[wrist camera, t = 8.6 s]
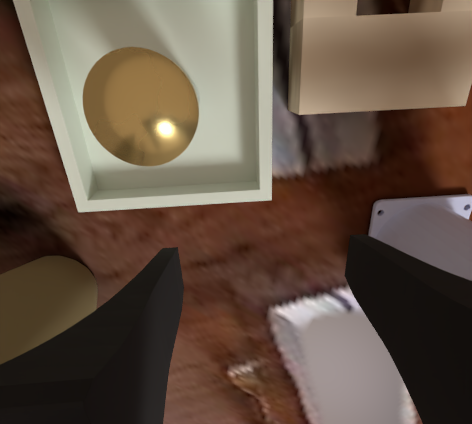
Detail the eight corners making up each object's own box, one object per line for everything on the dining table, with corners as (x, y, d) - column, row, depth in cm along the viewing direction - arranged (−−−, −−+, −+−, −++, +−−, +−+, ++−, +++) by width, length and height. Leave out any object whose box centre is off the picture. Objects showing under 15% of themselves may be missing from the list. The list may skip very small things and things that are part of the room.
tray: (266, 187, 22) (271, 200, 19) (93, 198, 21) (78, 212, 19) (265, -28, 16) (273, -46, 14) (33, -19, 16) (1, -36, 13)
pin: (209, 130, 19) (201, 164, 11) (148, 131, 19) (96, 167, 11) (205, 63, 17) (193, 46, 9) (139, 63, 17) (69, 47, 9)
